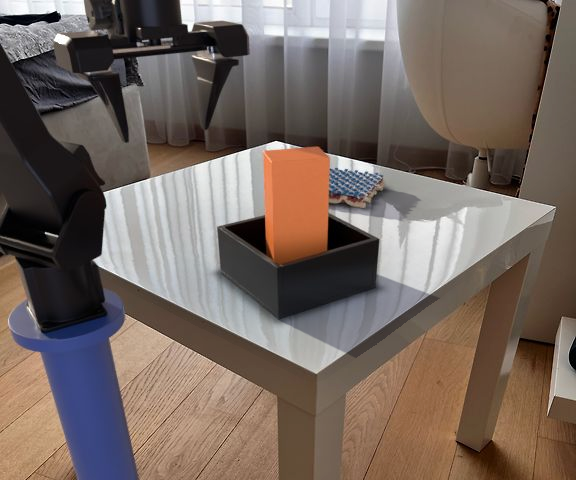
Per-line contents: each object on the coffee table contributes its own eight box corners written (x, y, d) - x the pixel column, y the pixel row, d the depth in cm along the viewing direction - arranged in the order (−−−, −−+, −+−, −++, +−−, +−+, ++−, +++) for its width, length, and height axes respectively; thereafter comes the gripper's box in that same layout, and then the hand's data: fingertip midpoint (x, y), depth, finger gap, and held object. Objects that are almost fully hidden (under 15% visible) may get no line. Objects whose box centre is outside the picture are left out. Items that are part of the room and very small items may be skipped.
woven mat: (294, 199, 87) (294, 185, 86) (322, 178, 95) (322, 164, 94) (364, 210, 84) (365, 195, 83) (387, 186, 92) (388, 172, 91)
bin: (278, 319, 60) (277, 267, 57) (220, 273, 68) (216, 226, 65) (375, 287, 65) (379, 238, 62) (311, 248, 74) (311, 203, 70)
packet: (274, 289, 64) (271, 162, 56) (266, 273, 67) (262, 150, 60) (326, 283, 65) (330, 157, 58) (316, 267, 68) (318, 146, 61)
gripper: (198, -44, 67) (210, 110, 76) (21, -39, 59) (58, 132, 68) (248, -42, 59) (255, 129, 68) (53, -36, 51) (90, 156, 60)
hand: (166, 135), depth 66 cm, fingers open, 9 cm apart
